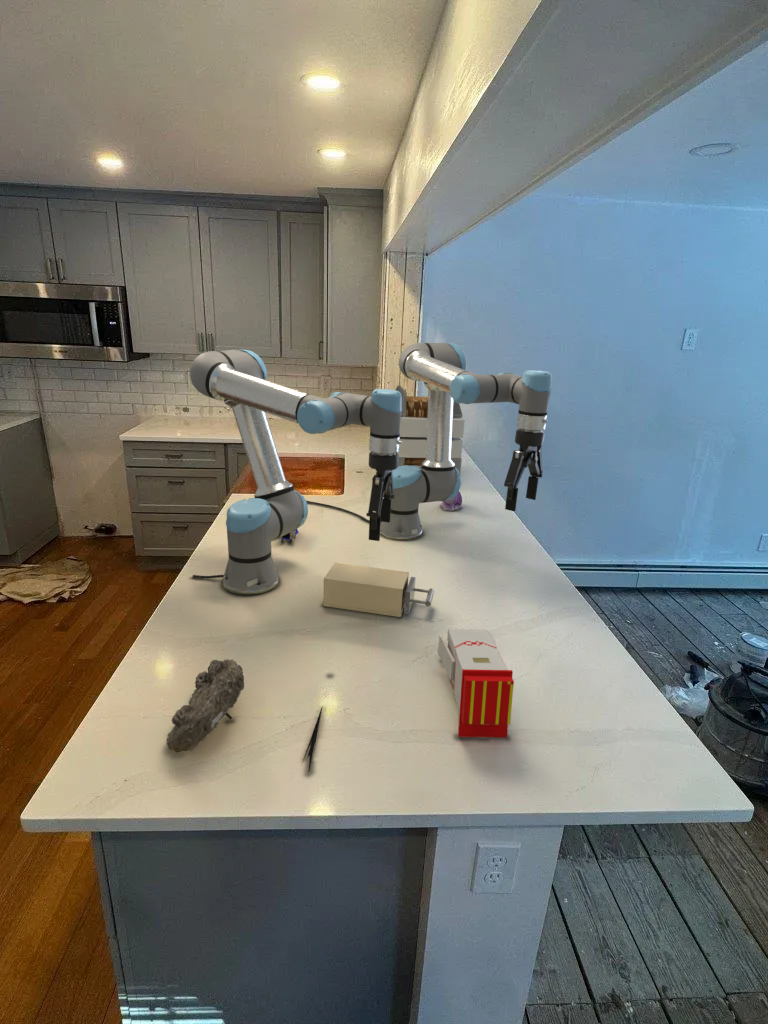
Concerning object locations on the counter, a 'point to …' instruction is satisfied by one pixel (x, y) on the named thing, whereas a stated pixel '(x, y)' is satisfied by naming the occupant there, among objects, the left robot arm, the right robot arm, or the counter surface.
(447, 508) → the figurine
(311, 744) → the feather
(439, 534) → the counter surface
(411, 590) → the drawer
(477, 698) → the toy
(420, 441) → the transformer
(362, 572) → the cabinet
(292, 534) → the figurine character
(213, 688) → the fossil
